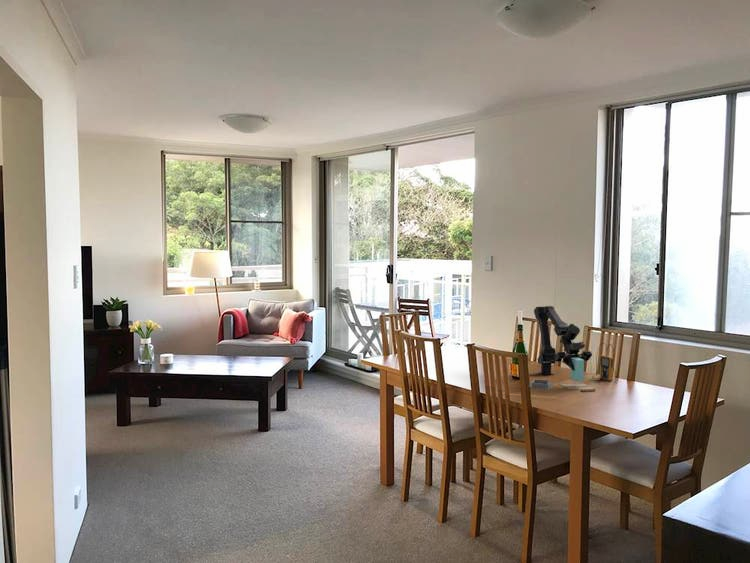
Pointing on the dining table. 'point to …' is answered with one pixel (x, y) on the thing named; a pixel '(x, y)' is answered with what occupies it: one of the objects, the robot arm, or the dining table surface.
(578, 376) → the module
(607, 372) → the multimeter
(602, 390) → the dining table surface
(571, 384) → the board
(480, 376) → the dining table surface
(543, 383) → the case base
